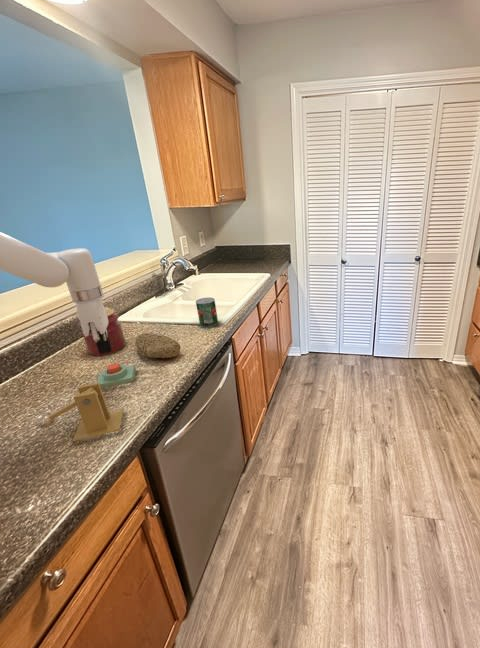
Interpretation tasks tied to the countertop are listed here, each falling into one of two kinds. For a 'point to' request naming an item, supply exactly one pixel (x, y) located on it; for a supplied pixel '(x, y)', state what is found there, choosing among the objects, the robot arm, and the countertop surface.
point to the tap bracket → (95, 413)
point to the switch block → (117, 376)
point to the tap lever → (56, 413)
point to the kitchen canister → (112, 331)
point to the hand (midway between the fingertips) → (106, 351)
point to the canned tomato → (207, 312)
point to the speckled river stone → (157, 346)
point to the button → (113, 368)
